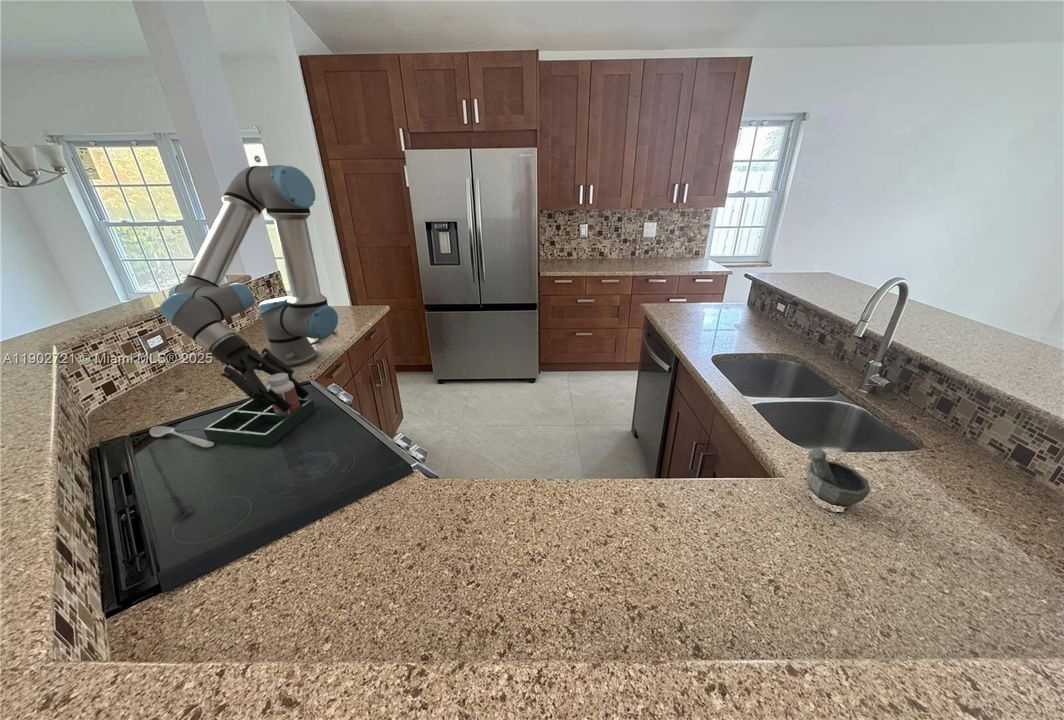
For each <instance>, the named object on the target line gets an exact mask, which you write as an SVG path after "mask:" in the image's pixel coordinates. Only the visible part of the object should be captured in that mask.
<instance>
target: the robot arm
mask: <svg viewBox="0 0 1064 720" xmlns="http://www.w3.org/2000/svg"><path fill="white" fill-rule="evenodd" d="M221 201H222V202H223V205H222V207H221V209H220V211H219V213H218V215H217V217H216V219H215V221H214V223H213V225H212V227H211V228H210V230H209V232H208V234H207V236H206V238H205V240H204V242H203V244H202V246H201V247H200V250H199V252H198V254H197V256H196V257H195V260H194V261H193V263H192V265H191V267H190V269H189V271H188V273H187V274H186V277H185V279H184V281H183V282H180V283H177V284H175V285H173V286H172V287H170V289H169V291H168V297H166V298H165V299H164V300H163V301H162V302H161V303H160V305H159V309H158V311H159V313H160V315H162V316H163V318H164V319H166V320H167V321H168V322H169V323H170V324H171V325H172V326H174V327H176V328H177V329H178V330H179V331H181V332H182V333H183V334H185V335H186V336H187V337H188V338H190V339H191V340H193V342H195V343H196V344H197V345H199V346H200V347H201V348H203V350H205V351H207V352H208V353H211V355H212V356H213V358H215V359H216V360H218V362H220V363H221V364H225V365H226V366H224V368H223V369H222V371H221V373H220V376H222V377H224V378H226V379H228V380H229V381H231V383H233V384H234V385H235V386H236V387H238V389H240V390H241V391H242V392H243V393H244V394H245V395H246V396H248V398H250V400H251V399H255V398H258V399H262V398H264V399H265V400H266V401H267V402H269V403H270V404H272V405H273V404H275V405H276V406H277V407H278V408H280V409H281V410H282V411H283V412H287V411H288V410H289V408H290V407H291V405H290V404H289V403H288V402H286V401H285V400H284V399H283V398H281V397H280V396H279V395H278V394H276V393H275V392H274V391H273V390H269V391H267V387H266V386H265V385H264V383H263V382H262V381H261V379H260V378H259V376H258V375H257V373H256V372H255V370H257V371H260V372H261V371H262V372H263V373H265V374H268V375H270V376H271V375H274V374H278V373H286V374H288V377H289V381H292V382H293V383H294V386H295V389H296V393H297V396H298V398H301V399H304V398H305V399H306V398H307V397H308V395H310V392H309V391H308V390H306V389H305V388H304V387H303V386H301V383H300V382H299V381H298V380H296V379H295V378H294V377H293V375H294V373H295V370H294V369H293V368H292V367H295V366H300V365H302V364H305V363H308V362H310V361H312V360H314V359H315V358H316V357H317V352H316V348H315V347H314V345H317V344H319V343H320V342H321V340H325V339H327V338H329V337H330V336H331V335H335V334H336V332H335V330H337V327H338V324H339V315H338V313H337V310H336V309H334V308H333V307H332V306H330V305H329V304H328V303H329V302H328V298H327V297H326V296H325V295H323V294H322V292H321V288H320V283H319V277H318V272H317V267H316V263H315V262H316V261H315V258H314V257H315V256H314V252H313V247H312V242H311V237H310V232H309V227H308V221H307V219H308V218H309V217H310V216H311V209H310V208H311V207H312V206H313V205H314V203H315V201H316V189H315V187H314V185H313V182H312V181H311V179H310V178H309V177H308V176H307V175H306V174H305V172H304V171H302V170H301V169H299V168H297V167H295V166H292V165H283V164H277V165H251V166H248V167H246V168H243V169H242V170H241V171H240V172H239V173H238V174H236V176H235V177H234V178H233V179H232V180H231V181H230V183H229V184H228V186H227V187H226V189H225V192H224V193H223V195H222V197H221ZM264 210H266V215H268V216H269V217H271V219H273V220H274V225H275V229H276V233H277V237H278V242H279V245H280V250H281V254H282V259H283V263H284V269H285V272H286V276H287V281H288V285H289V289H290V294H291V295H289V296H281V297H275V298H270V299H266V300H264V301H261V302H260V303H259V304H258V311H259V313H258V314H259V316H260V318H261V322H262V325H263V327H264V331H265V334H266V337H267V340H268V348H267V347H264V348H263V349H262V350H256V349H254V348H252V347H251V346H250V344H249V342H247V341H246V340H245V339H244V338H243V337H242V336H240V335H237V333H236V332H235V331H234V330H232V328H230V327H229V326H228V325H226V324H225V323H224V321H225V320H227V319H229V318H232V317H234V316H235V315H238V314H241V313H243V312H245V311H247V310H248V309H250V308H251V307H253V306H254V305H255V302H256V300H255V299H256V298H255V296H254V294H253V291H251V290H250V288H248V286H247V285H245V284H244V283H242V282H234V283H231V284H227V285H226V286H222V287H221V285H222V283H223V281H224V279H225V278H226V275H227V273H228V271H229V269H230V267H231V265H232V264H233V261H234V259H235V257H236V254H237V253H238V252H239V249H240V247H241V245H242V243H243V241H244V239H245V237H246V235H247V233H248V230H249V228H250V226H251V224H252V222H253V221H254V219H257V218H259V217H260V215H261V213H262V212H263V211H264ZM309 338H310V339H311V340H312V339H314V340H315V339H316V340H315V341H313V342H310V340H309Z"/></svg>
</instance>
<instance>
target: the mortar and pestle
mask: <svg viewBox="0 0 1064 720" xmlns="http://www.w3.org/2000/svg"><path fill="white" fill-rule="evenodd" d="M826 458H827V455H826V452H825V451H823V450H822V449H817V448H815V449H811V450H810V451H809V452H808V459H810V460H811V462H810V463H809V464H808V467H807V472H806V479H807V480H806V482H807V486H808V489H809V491H812V492H813V493H814V494H815V495H816V496H817V497H818V498H819V499H821V500H823V501H825V502H827V503H829V504H831V505H836V506H842V507H847V508H849V507H851V506H854V505H856V504H858V503H860V502H862V501H864V500H865V499H866V497H867V496H868V495H869V493H870V491H871V488H870V484H869V480H868V479H867V478H865V476H863V475H861V474H860V472H858V471H857V470H856V469H854V468H851V467H849V466H847V465H844V464H842V463H840V462H838V461H833V460H827V459H826Z"/></svg>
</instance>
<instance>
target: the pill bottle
mask: <svg viewBox="0 0 1064 720" xmlns="http://www.w3.org/2000/svg"><path fill="white" fill-rule="evenodd" d="M266 380H267V383H268V386H267V387H266V389H267V392H268V391H269V390H273V391H274V392H275V393H276V394H278V395H279V396H280V397H281V398H283V399H284V400H285V401H286V402H288V403H289V404H290V405H291V407H290V408H289V410H288V411H287V412H283V411H282V410H281V409H280V408H278V407H277V406H276V405H275V404H273V405H272V406H273V409H274V412H275V414H286V415H290V414H292V413H293V412H294V411H296V410H297V409H298V408H299V407H301V406H300V402H299V399H298V398H299V396H298V395H297V393H296V389H295V386H294V383H293V382H292V381H289V377H288V374H286V373H278V374H274V375H270V376H268V377H267V378H266Z"/></svg>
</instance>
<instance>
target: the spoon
mask: <svg viewBox="0 0 1064 720" xmlns="http://www.w3.org/2000/svg"><path fill="white" fill-rule="evenodd" d="M149 434H150V436H151V437H153V438H160V437H164V436H166V435H174V436H177V437H180V438H182V439H184V440H185V441H187V442H189V443H191V444H194V445H196V446H199V447H201V448H204V449H207V448H212V447H214V446H215V441H208V439H204V438H203V439H202V438H199V437H196V436H195V437H194V436H192V435H188V434H184V433H179V432H177V431H176V428H175V427H170V426H163V425H156V426H152V427H151V428H150V429H149Z"/></svg>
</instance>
